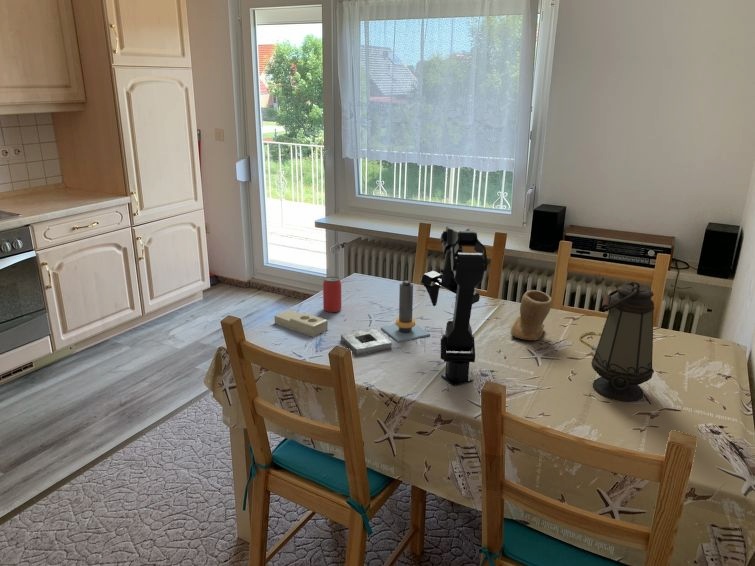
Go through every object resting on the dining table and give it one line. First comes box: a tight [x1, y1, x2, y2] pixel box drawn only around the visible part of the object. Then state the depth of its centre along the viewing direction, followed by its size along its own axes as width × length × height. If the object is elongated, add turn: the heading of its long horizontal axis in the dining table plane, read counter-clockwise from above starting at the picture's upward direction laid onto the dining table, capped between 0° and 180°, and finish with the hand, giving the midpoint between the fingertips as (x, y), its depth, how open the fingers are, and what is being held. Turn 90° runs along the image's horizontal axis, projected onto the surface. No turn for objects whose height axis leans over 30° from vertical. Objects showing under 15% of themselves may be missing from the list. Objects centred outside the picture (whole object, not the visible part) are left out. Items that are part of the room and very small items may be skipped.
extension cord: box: [579, 331, 602, 351], centre depth 176 cm, size 12×16×2 cm
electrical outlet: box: [274, 309, 328, 338], centre depth 185 cm, size 7×4×18 cm
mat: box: [380, 323, 431, 343], centre depth 182 cm, size 12×12×1 cm
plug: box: [395, 280, 416, 333], centre depth 179 cm, size 6×6×17 cm
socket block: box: [340, 328, 393, 356], centre depth 172 cm, size 12×12×2 cm
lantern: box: [591, 280, 655, 403], centre depth 143 cm, size 18×15×30 cm
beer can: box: [322, 275, 342, 313], centre depth 198 cm, size 7×7×12 cm
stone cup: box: [510, 289, 553, 341], centre depth 180 cm, size 15×12×15 cm
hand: (445, 311), depth 169 cm, fingers open, 9 cm apart
